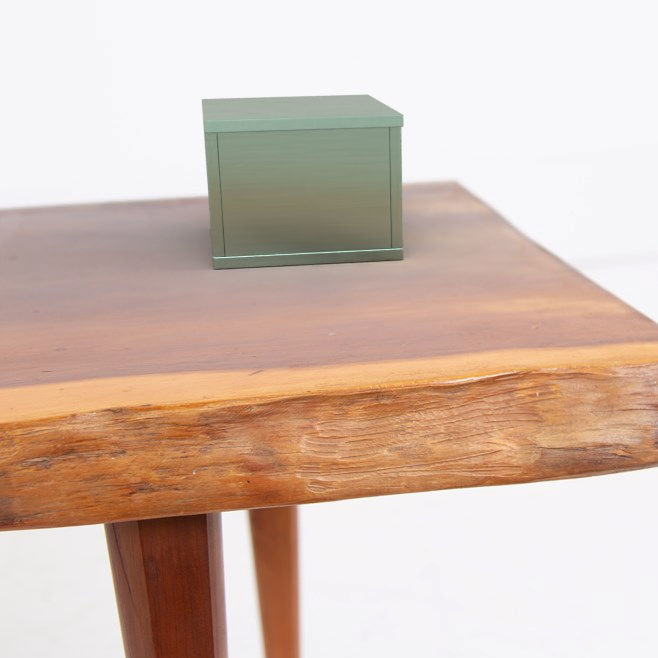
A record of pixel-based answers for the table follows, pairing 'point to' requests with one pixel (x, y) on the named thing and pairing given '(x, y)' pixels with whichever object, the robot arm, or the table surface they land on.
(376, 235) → the box
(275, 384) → the table surface
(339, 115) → the lid
